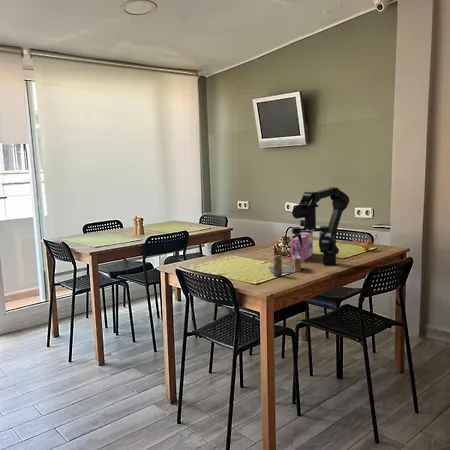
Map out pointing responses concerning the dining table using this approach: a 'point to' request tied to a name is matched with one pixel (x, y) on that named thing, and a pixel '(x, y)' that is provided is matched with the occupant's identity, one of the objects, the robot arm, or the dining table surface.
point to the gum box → (306, 245)
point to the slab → (297, 263)
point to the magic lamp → (367, 244)
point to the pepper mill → (277, 266)
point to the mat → (283, 269)
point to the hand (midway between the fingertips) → (310, 246)
